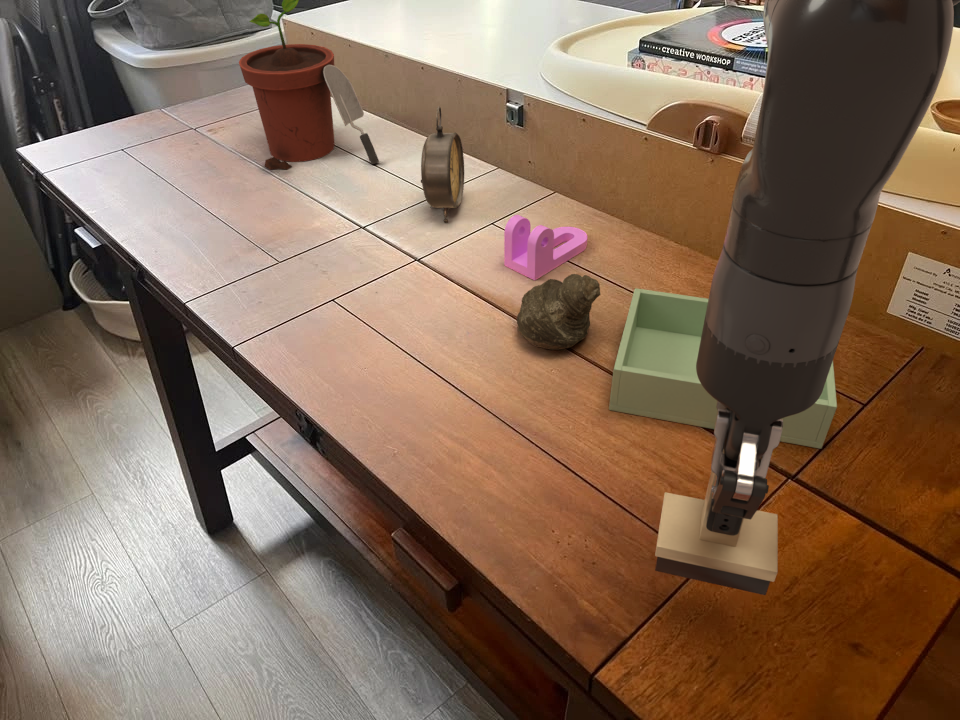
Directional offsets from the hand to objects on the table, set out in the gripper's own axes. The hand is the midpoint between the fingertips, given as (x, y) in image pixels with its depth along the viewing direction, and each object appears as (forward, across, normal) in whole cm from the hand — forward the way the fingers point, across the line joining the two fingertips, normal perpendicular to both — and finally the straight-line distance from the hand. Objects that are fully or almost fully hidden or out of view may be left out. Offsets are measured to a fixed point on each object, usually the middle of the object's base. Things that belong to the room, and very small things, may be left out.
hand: (722, 511), depth 55 cm
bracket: (+12, +52, +24) cm, 59 cm away
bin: (+12, +30, 0) cm, 33 cm away
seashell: (+12, +35, +21) cm, 43 cm away
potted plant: (+12, +75, +73) cm, 106 cm away
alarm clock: (+12, +61, +43) cm, 76 cm away
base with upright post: (+5, 0, 0) cm, 5 cm away
